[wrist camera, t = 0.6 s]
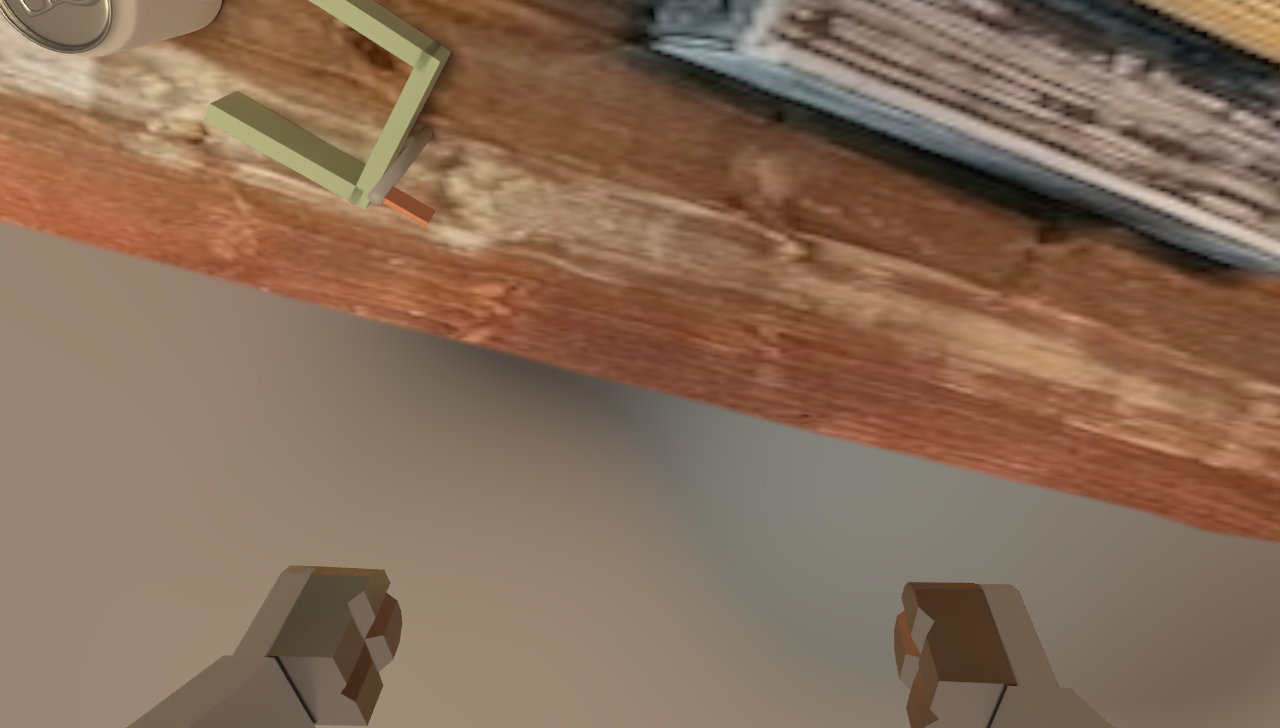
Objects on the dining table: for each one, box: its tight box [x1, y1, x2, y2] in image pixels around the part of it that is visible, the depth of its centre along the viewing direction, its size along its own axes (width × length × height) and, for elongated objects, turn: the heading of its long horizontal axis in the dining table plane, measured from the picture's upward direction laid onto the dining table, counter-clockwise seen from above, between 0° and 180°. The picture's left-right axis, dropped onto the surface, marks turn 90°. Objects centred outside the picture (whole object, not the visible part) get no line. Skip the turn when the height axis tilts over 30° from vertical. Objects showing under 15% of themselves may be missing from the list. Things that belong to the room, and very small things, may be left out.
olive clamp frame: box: [204, 0, 451, 227], centre depth 44 cm, size 15×11×14 cm
